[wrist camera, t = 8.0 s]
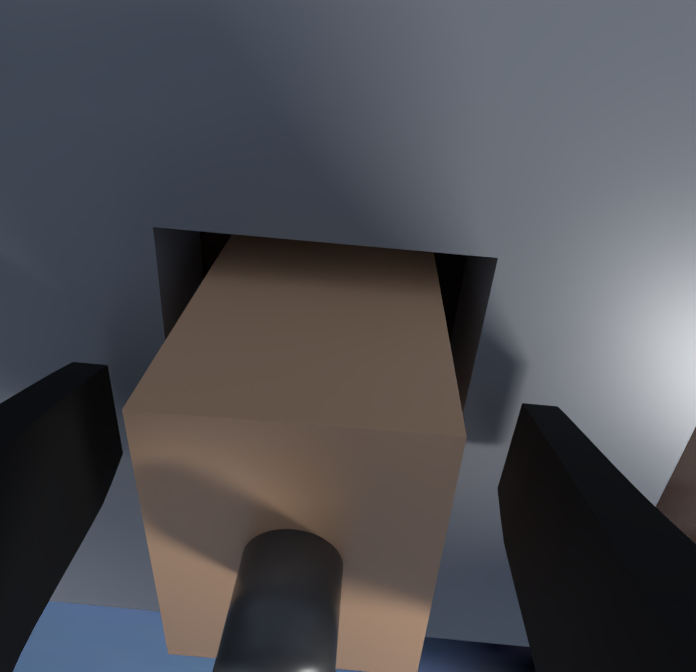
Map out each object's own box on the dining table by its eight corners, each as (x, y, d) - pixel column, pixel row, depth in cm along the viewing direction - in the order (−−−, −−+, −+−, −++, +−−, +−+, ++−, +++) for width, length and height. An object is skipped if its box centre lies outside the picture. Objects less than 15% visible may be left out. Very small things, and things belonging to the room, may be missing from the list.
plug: (431, 240, 12) (487, 553, 5) (405, 429, 14) (421, 795, 8) (236, 226, 12) (53, 517, 5) (246, 417, 14) (130, 769, 8)
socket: (784, 4, 9) (903, 9, 7) (557, 566, 17) (582, 652, 14) (-77, -69, 9) (-212, -86, 7) (73, 520, 17) (27, 598, 15)
